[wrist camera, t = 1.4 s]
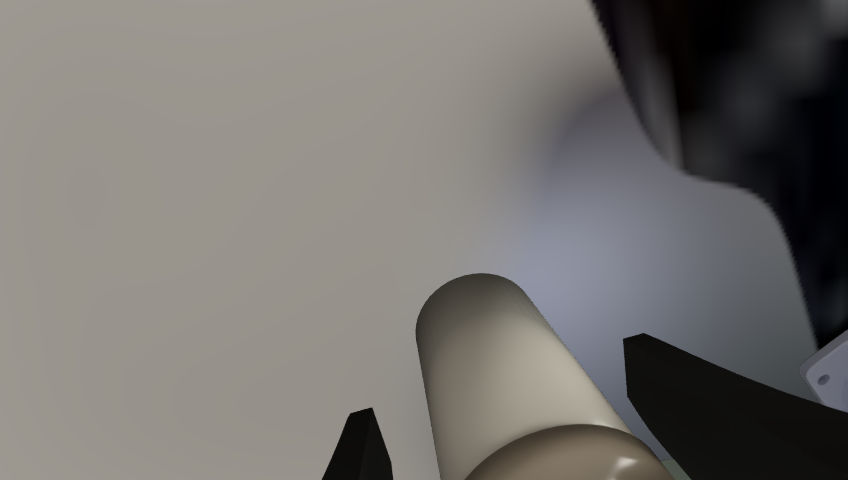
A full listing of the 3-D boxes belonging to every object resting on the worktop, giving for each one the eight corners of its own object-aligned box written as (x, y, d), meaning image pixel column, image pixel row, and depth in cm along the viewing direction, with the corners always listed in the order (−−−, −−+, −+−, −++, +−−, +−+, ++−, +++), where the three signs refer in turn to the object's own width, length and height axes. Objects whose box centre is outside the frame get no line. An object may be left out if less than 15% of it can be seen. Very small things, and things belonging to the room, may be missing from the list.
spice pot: (561, 326, 16) (734, 540, 8) (469, 402, 16) (552, 665, 9) (483, 244, 14) (605, 412, 7) (386, 332, 15) (398, 573, 7)
